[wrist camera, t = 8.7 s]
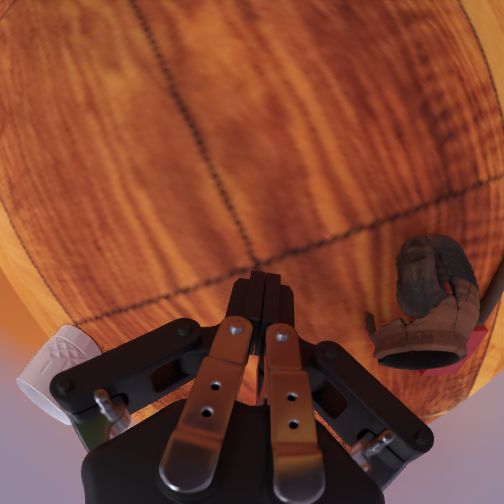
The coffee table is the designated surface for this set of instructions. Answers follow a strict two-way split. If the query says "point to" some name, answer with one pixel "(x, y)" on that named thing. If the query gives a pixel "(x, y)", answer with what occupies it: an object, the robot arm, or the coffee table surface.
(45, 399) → the white cup
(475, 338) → the spatula
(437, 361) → the dark brown curved piece
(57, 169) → the coffee table surface
